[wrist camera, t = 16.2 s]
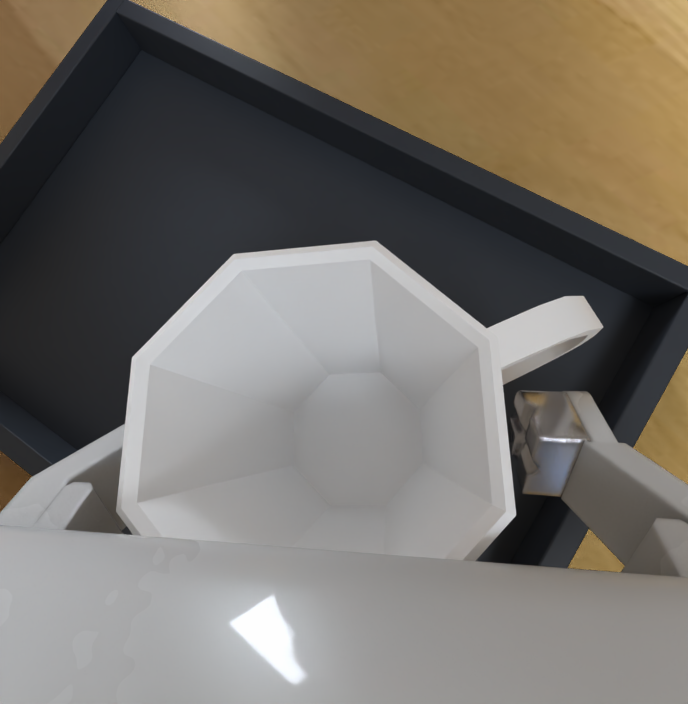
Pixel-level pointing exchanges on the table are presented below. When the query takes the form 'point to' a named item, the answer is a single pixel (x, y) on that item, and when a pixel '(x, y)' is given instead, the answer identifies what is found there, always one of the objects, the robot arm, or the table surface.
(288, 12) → the table surface
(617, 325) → the tray
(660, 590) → the robot arm
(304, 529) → the cup
